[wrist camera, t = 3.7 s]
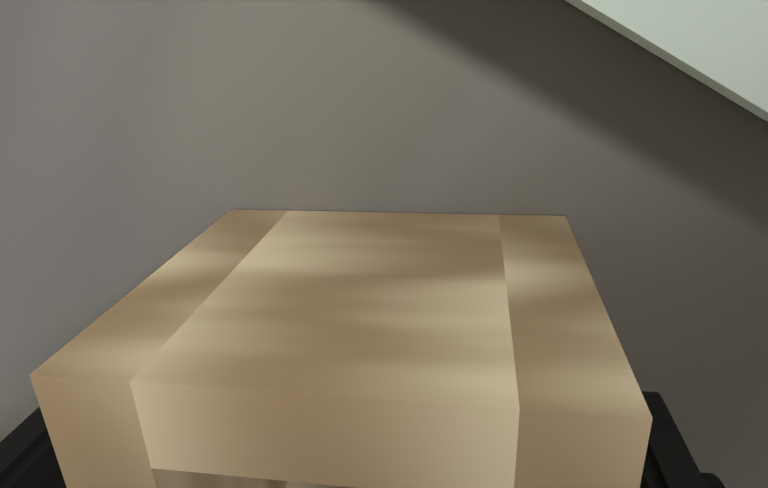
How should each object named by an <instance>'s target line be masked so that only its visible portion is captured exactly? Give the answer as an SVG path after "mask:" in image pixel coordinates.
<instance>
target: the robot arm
mask: <svg viewBox="0 0 768 488" xmlns="http://www.w3.org/2000/svg"><path fill="white" fill-rule="evenodd" d="M641 392H642V395H643V397H644V399H645V402H646V404H647V406H648V409H649V411H650V413H651V416H652V418H653V420H652V425H651V430H650V435H649V441H648V446H647V451H646V457H645V462H644V467H643V473H642V478H641V483H640V488H725V487H724V485H723V483H722V482H721V481H720V479H719V478H718V477H717V476H716V475H714V474H712V473H700V472H699V470H698V468H697V466H696V464H695V462H694V460H693V458H692V456H691V454H690V452H689V450H688V448H687V446H686V444H685V442H684V440H683V438H682V436H681V434H680V432H679V430H678V428H677V426H676V424H675V422H674V420H673V418H672V416H671V415H670V413H669V411H668V409H667V407H666V405H665V403H664V401H663V399H662V397H661V395H660V394H659V393H657V392H644V391H641ZM0 488H67V487H66V484H65V481H64V478H63V475H62V472H61V469H60V466H59V463H58V460H57V457H56V454H55V451H54V448H53V445H52V442H51V439H50V436H49V433H48V430H47V427H46V424H45V421H44V418H43V415H42V412H41V409H40V407H39V408H37V409H36V410H35V411H34V412H33V413H32V414H31V415H30V416H29V417H28V418H27V419H25V420H24V421H23V422H22V423H21V424H20V425H19V426H18V427H17V428H16V429H14V430H13V431H12V432H11V433H10V434H9V435H8V436H7V437H6V438H5V439H4V440H2V441H1V442H0Z"/></svg>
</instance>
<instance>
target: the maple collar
mask: <svg viewBox="0 0 768 488" xmlns="http://www.w3.org/2000/svg"><path fill="white" fill-rule="evenodd" d="M29 376H30V379H31V382H32V385H33V388H34V391H35V394H36V397H37V400H38V403H39V406H40V409H41V412H42V415H43V418H44V421H45V424H46V427H47V430H48V433H49V436H50V439H51V442H52V445H53V448H54V451H55V454H56V457H57V460H58V463H59V466H60V469H61V472H62V475H63V478H64V481H65V484H66V487H67V488H640V483H641V478H642V473H643V467H644V462H645V457H646V451H647V446H648V441H649V435H650V430H651V425H652V420H653V418H652V416H651V413H650V411H649V409H648V406H647V404H646V402H645V399H644V397H643V395H642V392H641V390H640V388H639V385H638V383H637V381H636V378H635V376H634V374H633V371H632V369H631V367H630V364H629V362H628V360H627V358H626V355H625V353H624V351H623V348H622V346H621V344H620V341H619V339H618V337H617V334H616V332H615V330H614V327H613V325H612V323H611V320H610V318H609V316H608V313H607V311H606V309H605V307H604V304H603V302H602V300H601V297H600V295H599V293H598V290H597V288H596V286H595V283H594V281H593V279H592V276H591V274H590V272H589V269H588V267H587V265H586V262H585V260H584V258H583V255H582V253H581V251H580V249H579V246H578V244H577V242H576V239H575V237H574V235H573V232H572V230H571V228H570V225H569V223H568V221H567V218H566V216H548V215H495V214H442V213H390V212H337V211H284V210H229V211H228V212H227V213H226V214H224V215H223V216H222V217H221V218H220V219H218V220H217V221H216V222H215V223H213V224H212V225H211V226H210V227H209V228H207V229H206V230H205V231H204V232H203V233H201V234H200V235H199V236H198V237H196V238H195V239H194V240H193V241H192V242H190V243H189V244H188V245H187V246H185V247H184V248H183V249H182V250H181V251H179V252H178V253H177V254H176V255H174V256H173V257H172V258H171V259H170V260H168V261H167V262H166V263H165V264H164V265H162V266H161V267H160V268H159V269H157V270H156V271H155V272H154V273H153V274H151V275H150V276H149V277H148V278H146V279H145V280H144V281H143V282H142V283H140V284H139V285H138V286H137V287H135V288H134V289H133V290H132V291H131V292H129V293H128V294H127V295H126V296H124V297H123V298H122V299H121V300H120V301H118V302H117V303H116V304H115V305H114V306H112V307H111V308H110V309H109V310H107V311H106V312H105V313H104V314H103V315H101V316H100V317H99V318H98V319H96V320H95V321H94V322H93V323H92V324H90V325H89V326H88V327H87V328H85V329H84V330H83V331H82V332H81V333H79V334H78V335H77V336H76V337H74V338H73V339H72V340H71V341H70V342H68V343H67V344H66V345H65V346H64V347H62V348H61V349H60V350H59V351H57V352H56V353H55V354H54V355H53V356H51V357H50V358H49V359H48V360H46V361H45V362H44V363H43V364H42V365H40V366H39V367H38V368H37V369H35V370H34V371H33V372H32V373H31V374H29Z"/></svg>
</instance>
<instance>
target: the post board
mask: <svg viewBox="0 0 768 488" xmlns="http://www.w3.org/2000/svg"><path fill="white" fill-rule="evenodd" d="M565 1H566V2H568V3H570V4H571V5H573V6H575V7H576V8H578V9H580V10H581V11H583V12H585V13H586V14H588V15H590V16H591V17H593V18H595V19H596V20H598V21H600V22H601V23H603V24H605V25H606V26H608V27H610V28H611V29H613V30H615V31H616V32H618V33H620V34H621V35H623V36H625V37H626V38H628V39H630V40H631V41H633V42H635V43H636V44H638V45H640V46H641V47H643V48H645V49H646V50H648V51H650V52H651V53H653V54H655V55H656V56H658V57H660V58H661V59H663V60H665V61H666V62H668V63H670V64H671V65H673V66H675V67H676V68H678V69H680V70H681V71H683V72H685V73H686V74H688V75H690V76H691V77H693V78H695V79H696V80H698V81H700V82H701V83H703V84H705V85H706V86H708V87H710V88H711V89H713V90H715V91H716V92H718V93H720V94H721V95H723V96H725V97H726V98H728V99H730V100H731V101H733V102H735V103H736V104H738V105H740V106H741V107H743V108H745V109H746V110H748V111H750V112H751V113H753V114H755V115H756V116H758V117H760V118H761V119H763V120H765V121H766V122H768V0H565Z"/></svg>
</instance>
